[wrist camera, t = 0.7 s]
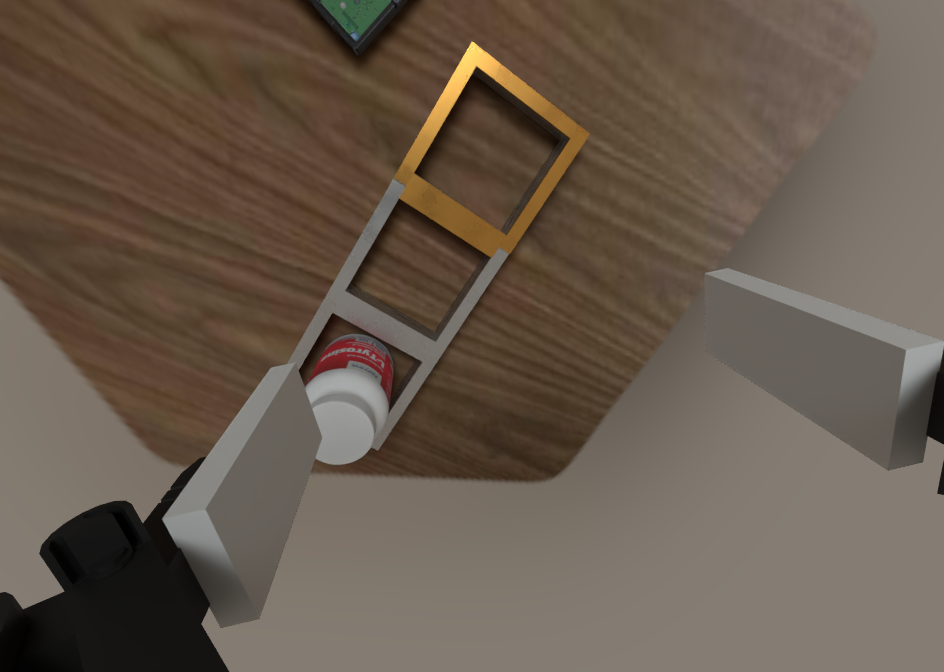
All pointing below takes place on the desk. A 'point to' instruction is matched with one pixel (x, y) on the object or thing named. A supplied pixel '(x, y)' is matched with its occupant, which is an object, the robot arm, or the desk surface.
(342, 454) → the pill bottle
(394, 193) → the socket rail
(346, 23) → the disk drive
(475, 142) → the desk surface
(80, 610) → the robot arm
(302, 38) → the desk surface
